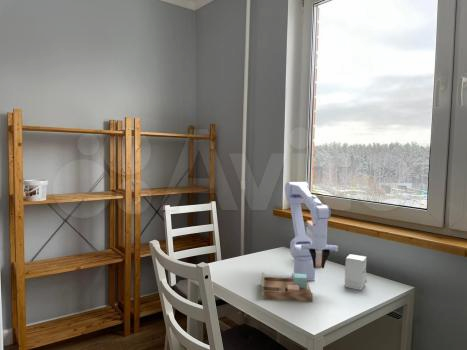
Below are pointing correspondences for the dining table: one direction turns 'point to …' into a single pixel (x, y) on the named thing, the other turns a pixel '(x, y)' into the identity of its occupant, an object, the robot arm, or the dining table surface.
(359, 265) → the supplement box
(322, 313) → the dining table surface
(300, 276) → the teal block
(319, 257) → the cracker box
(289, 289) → the clay block
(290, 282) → the brown wooden tray
